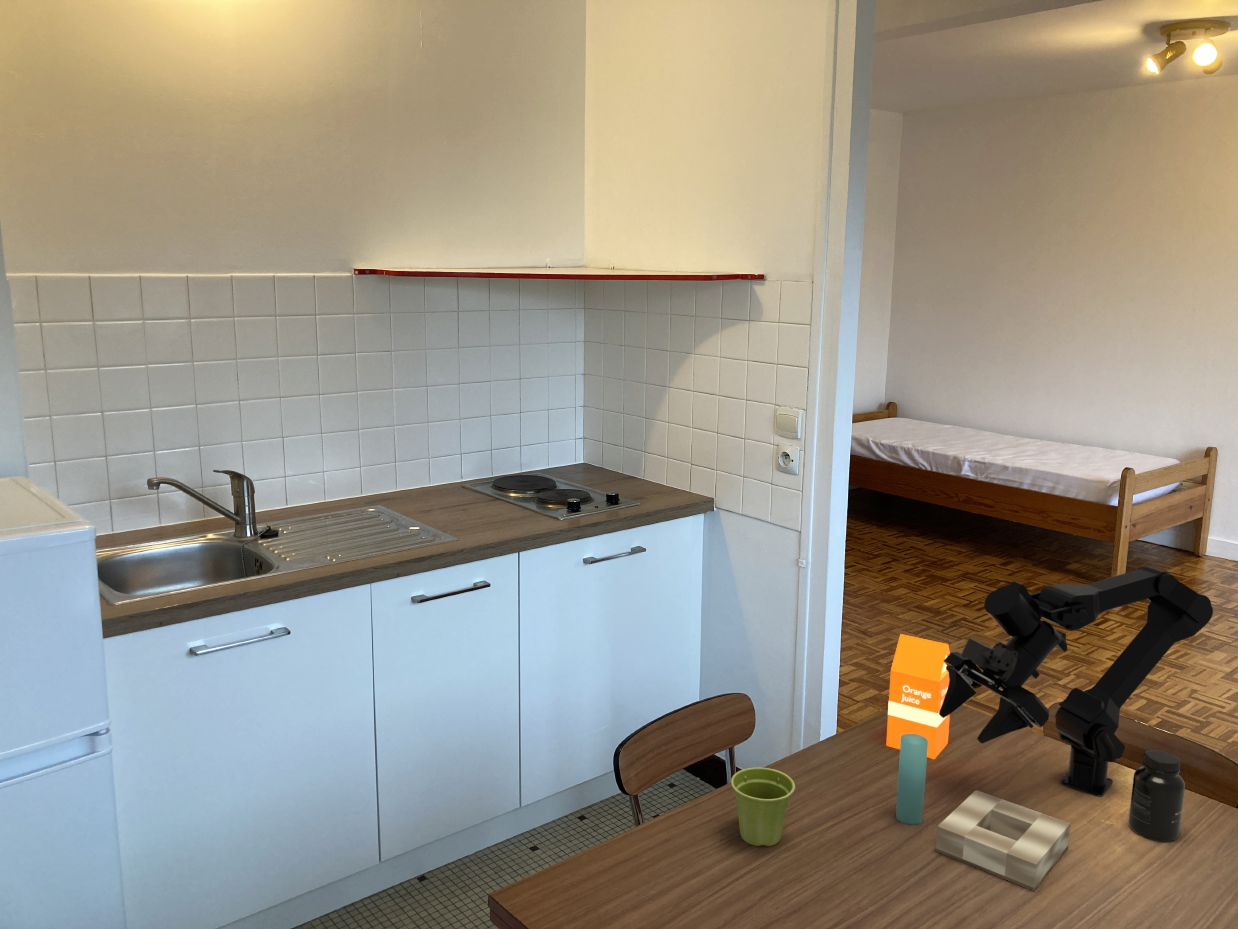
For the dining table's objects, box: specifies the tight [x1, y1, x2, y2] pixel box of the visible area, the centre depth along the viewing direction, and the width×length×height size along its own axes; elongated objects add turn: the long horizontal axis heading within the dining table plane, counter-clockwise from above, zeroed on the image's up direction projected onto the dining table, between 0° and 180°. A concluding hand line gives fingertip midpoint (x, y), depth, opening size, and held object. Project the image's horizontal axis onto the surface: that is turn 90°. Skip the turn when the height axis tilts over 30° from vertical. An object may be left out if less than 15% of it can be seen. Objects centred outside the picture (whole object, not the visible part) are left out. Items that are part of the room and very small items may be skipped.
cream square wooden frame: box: [935, 789, 1071, 892], centre depth 141 cm, size 14×14×4 cm
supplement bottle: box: [1128, 749, 1186, 842], centre depth 146 cm, size 7×7×12 cm
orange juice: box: [885, 633, 951, 760], centre depth 172 cm, size 8×9×20 cm
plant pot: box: [730, 766, 796, 847], centre depth 144 cm, size 9×9×9 cm
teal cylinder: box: [895, 734, 928, 825], centre depth 149 cm, size 4×4×13 cm
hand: (959, 728), depth 150 cm, fingers open, 9 cm apart
